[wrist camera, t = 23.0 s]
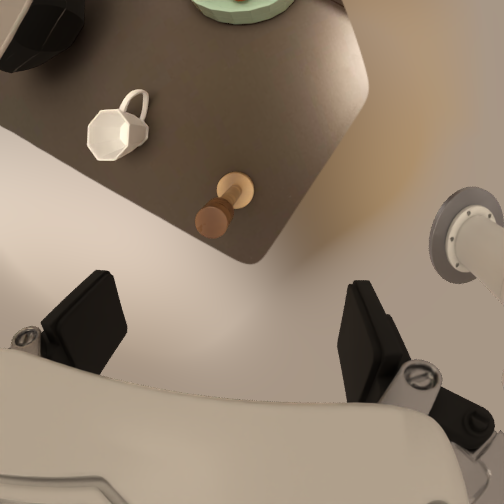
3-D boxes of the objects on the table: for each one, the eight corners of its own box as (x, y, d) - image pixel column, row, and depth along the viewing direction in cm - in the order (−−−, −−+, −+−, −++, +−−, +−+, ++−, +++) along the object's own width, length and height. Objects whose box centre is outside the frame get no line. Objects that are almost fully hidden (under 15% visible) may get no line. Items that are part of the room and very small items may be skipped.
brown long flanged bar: (255, 172, 38) (239, 196, 24) (253, 207, 40) (238, 250, 26) (218, 171, 38) (183, 194, 25) (218, 205, 40) (185, 247, 27)
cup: (110, 144, 38) (79, 150, 31) (136, 85, 34) (107, 78, 27) (145, 163, 39) (117, 171, 31) (174, 101, 35) (150, 96, 27)
